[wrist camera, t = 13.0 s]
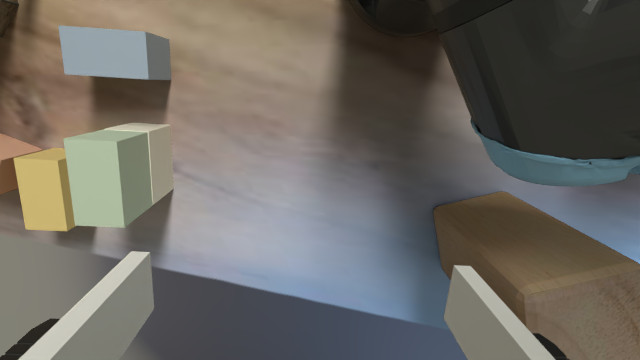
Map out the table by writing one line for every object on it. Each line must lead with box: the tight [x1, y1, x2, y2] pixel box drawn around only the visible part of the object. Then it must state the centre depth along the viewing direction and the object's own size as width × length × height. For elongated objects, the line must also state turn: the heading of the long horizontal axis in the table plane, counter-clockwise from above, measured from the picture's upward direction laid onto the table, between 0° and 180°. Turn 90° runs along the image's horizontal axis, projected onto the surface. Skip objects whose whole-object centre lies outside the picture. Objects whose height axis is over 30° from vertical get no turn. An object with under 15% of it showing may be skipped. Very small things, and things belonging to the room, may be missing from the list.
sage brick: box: [64, 130, 153, 228], centre depth 33 cm, size 8×4×6 cm, turn 176°
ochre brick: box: [14, 148, 76, 231], centre depth 39 cm, size 8×4×6 cm, turn 176°
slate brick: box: [58, 25, 171, 80], centre depth 36 cm, size 8×4×6 cm, turn 86°
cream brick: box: [104, 122, 174, 205], centre depth 39 cm, size 8×4×6 cm, turn 176°
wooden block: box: [433, 192, 640, 360], centre depth 37 cm, size 10×10×20 cm
